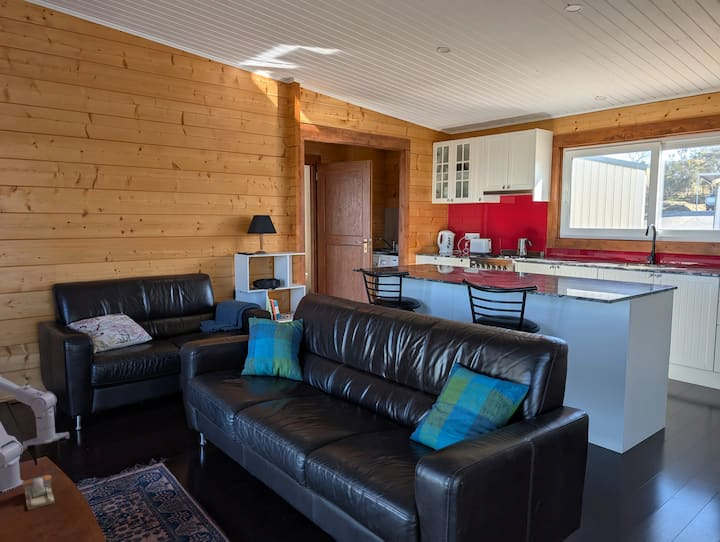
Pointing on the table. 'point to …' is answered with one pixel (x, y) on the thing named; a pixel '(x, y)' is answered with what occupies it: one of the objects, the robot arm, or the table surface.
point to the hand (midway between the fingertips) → (48, 461)
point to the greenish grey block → (38, 487)
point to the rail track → (39, 500)
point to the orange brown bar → (32, 481)
